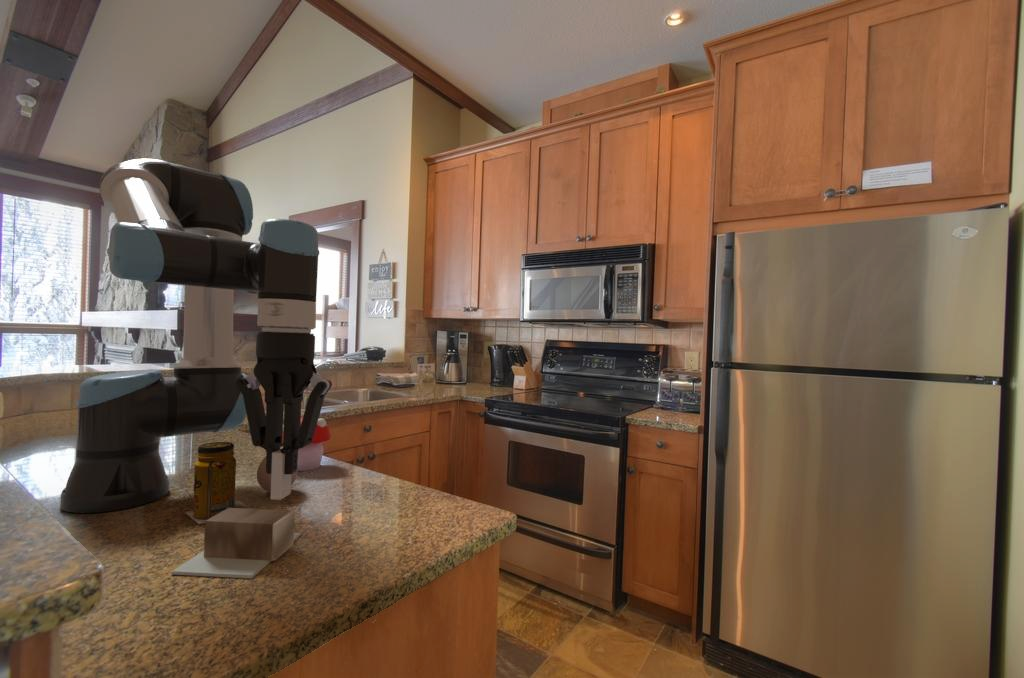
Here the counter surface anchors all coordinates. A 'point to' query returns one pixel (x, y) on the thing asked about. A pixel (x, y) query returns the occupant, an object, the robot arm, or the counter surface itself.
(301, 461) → the mushroom
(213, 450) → the condiment
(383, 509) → the counter surface
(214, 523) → the block
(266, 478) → the egg
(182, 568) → the mat
